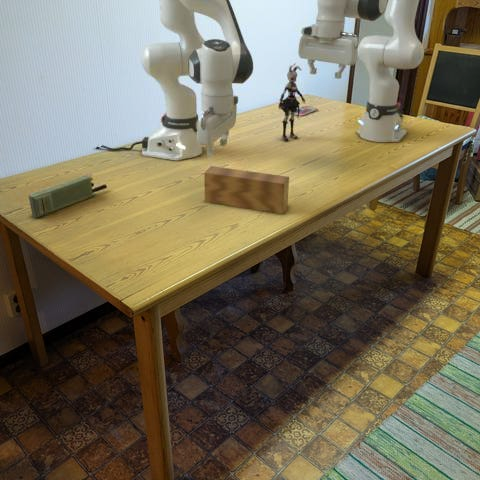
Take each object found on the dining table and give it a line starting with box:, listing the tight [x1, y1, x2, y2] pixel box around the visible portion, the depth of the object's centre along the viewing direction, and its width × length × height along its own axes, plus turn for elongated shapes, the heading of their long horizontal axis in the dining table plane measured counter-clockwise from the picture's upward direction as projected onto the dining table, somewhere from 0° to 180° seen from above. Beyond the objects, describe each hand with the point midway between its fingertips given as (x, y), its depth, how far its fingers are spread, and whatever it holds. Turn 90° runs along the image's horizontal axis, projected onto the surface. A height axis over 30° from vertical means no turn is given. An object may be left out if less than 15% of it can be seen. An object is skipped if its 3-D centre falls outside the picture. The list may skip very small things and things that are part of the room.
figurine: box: [278, 62, 306, 142], centre depth 199 cm, size 15×6×30 cm, turn 132°
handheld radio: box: [28, 173, 108, 219], centre depth 150 cm, size 7×3×25 cm
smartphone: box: [290, 105, 318, 117], centre depth 242 cm, size 7×1×15 cm
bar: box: [203, 165, 290, 215], centre depth 150 cm, size 24×6×10 cm, turn 71°
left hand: (217, 150), depth 147 cm, fingers open, 8 cm apart
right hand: (325, 76), depth 165 cm, fingers open, 8 cm apart
